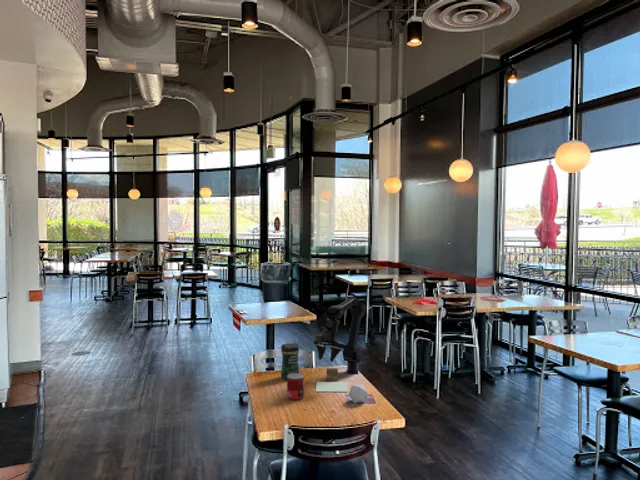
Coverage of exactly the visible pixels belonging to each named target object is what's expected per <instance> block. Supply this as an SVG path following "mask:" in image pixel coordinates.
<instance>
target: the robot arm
mask: <svg viewBox="0 0 640 480" xmlns="http://www.w3.org/2000/svg"><path fill="white" fill-rule="evenodd" d="M349 309H350V314H351V317H352V319H351V324H350V330H349V335H348V341H347V343H346V344H344V342H339V341H336V337H337V336H339V333H337V332H338V326H339V325H340V324H341V321H340V319H341V318H342V317H343V316H344V313H345V312H346V311H348V310H349ZM366 311H367V305H366V303H364V302H363V301H360V300H359V299H358V298H357V297H348V298H347V299H345V300H343V302H340V303H339V304H336V305H331V306H329V307H328V308H327V310H326V311H325V313H322V314H321V316H319V318H318V319H317V326H318V327H320V328H323V329H325V330H324V331H323V333H322V334H321V333H320V334H319V333H318V334H315V336H314V337H315V339H314V341H313V345H314V346H315V347H316V349H317V352H318V360H319V361H321V360H322V359H323V356H324V354H325V353H326V350H327V346H329V347H330V350H331V351H330V359H329V362H331V363H332V362H333V361H334V360H335V359H336V357H337V356H338V354H339V353H340V352H341V351H342V358H343V361H344V362H346V363H347V364H346V366H347V369H346V374H359V368H358V364H359V363H361V362H362V356H361V355H360V353H359V350H360V349H359V346H358V338H359V332H360V328H361V321H362V318H364V316H365V315H366Z"/></svg>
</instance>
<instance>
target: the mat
mask: <svg viewBox="0 0 640 480" xmlns="http://www.w3.org/2000/svg"><path fill="white" fill-rule="evenodd" d="M348 388H349V387H348V381H316V386H315V391H314V392H315V393H349V392H348Z"/></svg>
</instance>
